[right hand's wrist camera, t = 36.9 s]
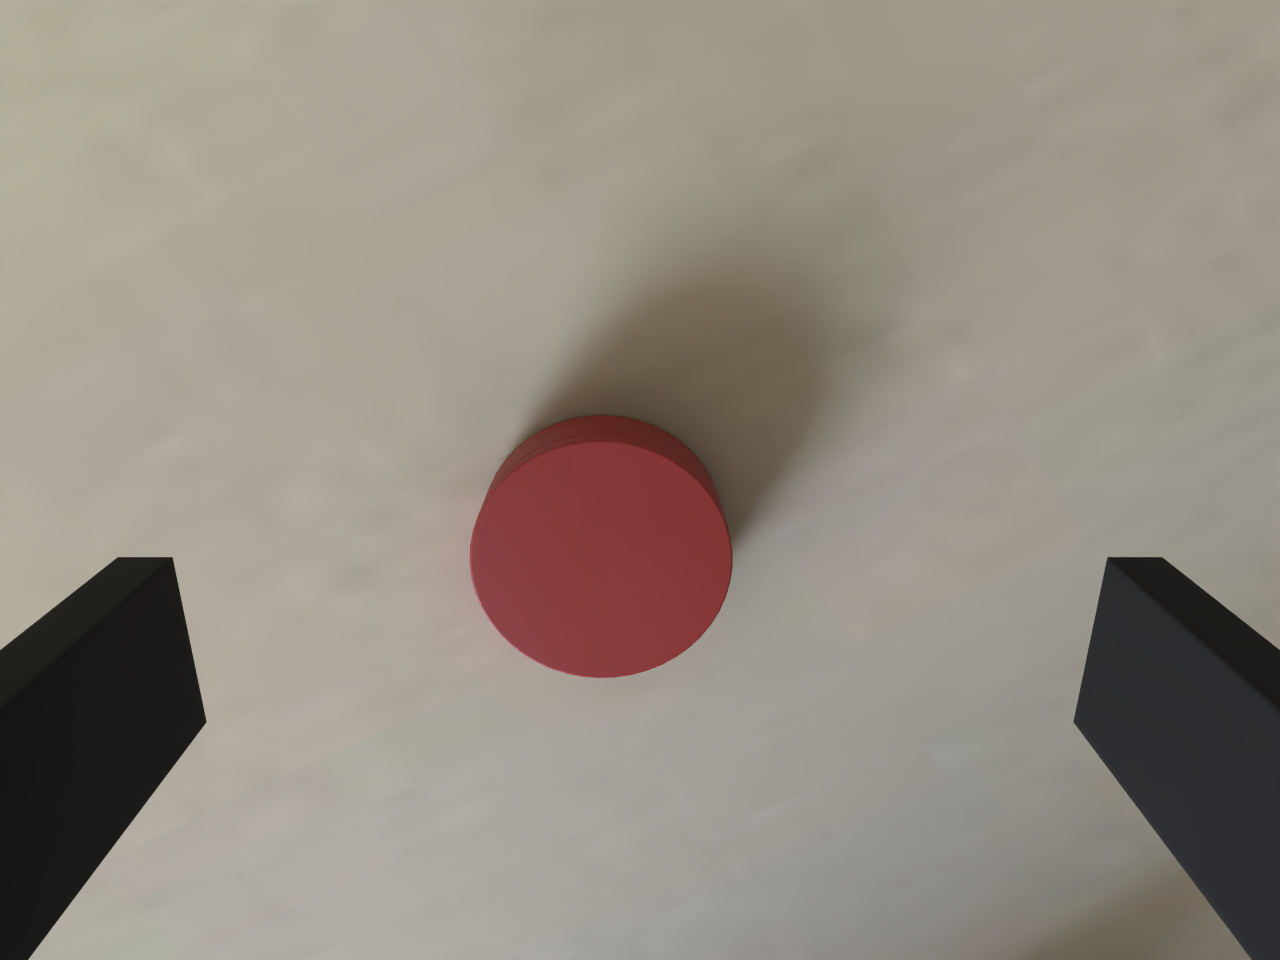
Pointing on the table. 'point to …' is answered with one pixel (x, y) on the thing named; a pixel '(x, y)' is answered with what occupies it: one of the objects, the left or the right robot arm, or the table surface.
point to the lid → (601, 548)
